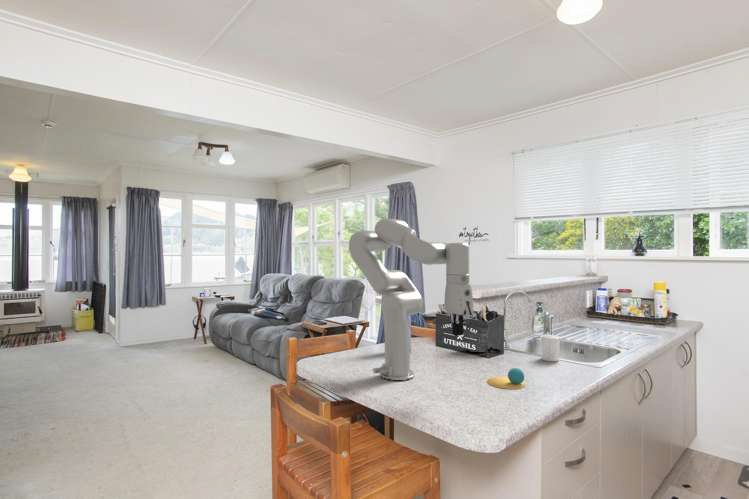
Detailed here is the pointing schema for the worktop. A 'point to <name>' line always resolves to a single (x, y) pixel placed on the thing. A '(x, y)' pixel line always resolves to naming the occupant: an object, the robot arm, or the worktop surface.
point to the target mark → (504, 383)
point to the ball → (516, 376)
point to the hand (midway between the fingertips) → (458, 334)
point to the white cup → (550, 347)
